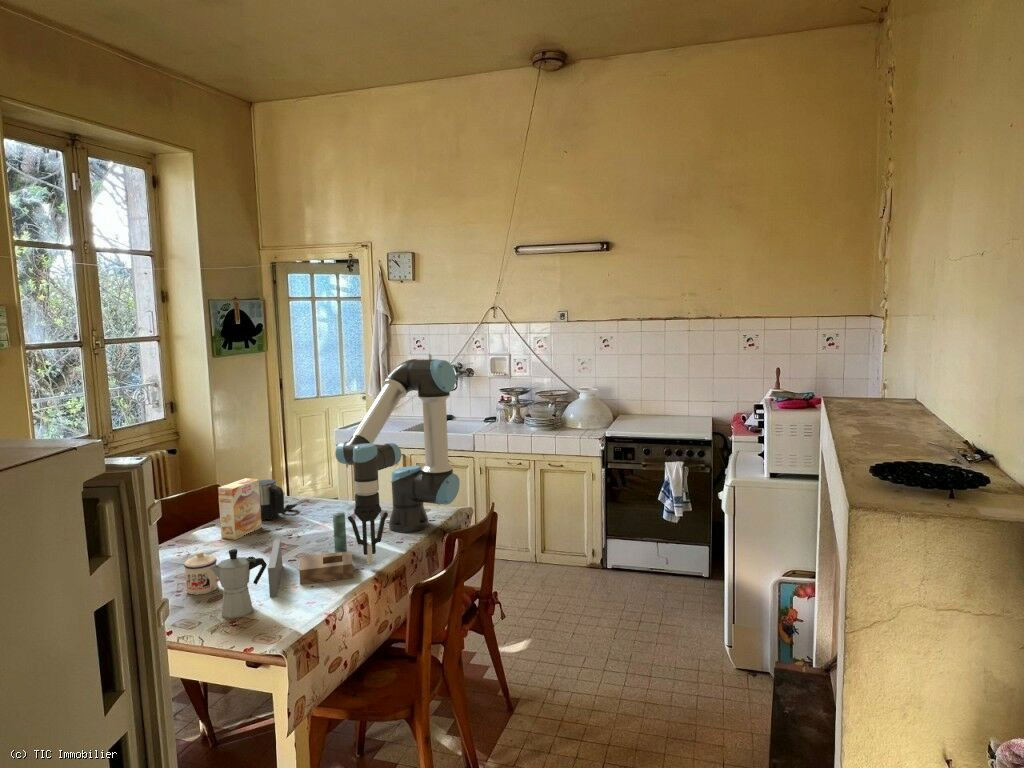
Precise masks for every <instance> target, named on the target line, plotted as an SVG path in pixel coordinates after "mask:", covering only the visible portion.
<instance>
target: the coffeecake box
mask: <svg viewBox="0 0 1024 768" xmlns="http://www.w3.org/2000/svg"><path fill="white" fill-rule="evenodd" d="M259 481H260V480H259V478H249V477H248V478H246V477H245V478H242V479H239V480H236V481H234V482H231V483H228V484H224V485H222V486H218V487H217V491H218V492H217V493H218V505H219V506H218V507H219V520H220V521H219V523H220V535H221V539H228V540H234V541H235V540H238V539H240V538H242V537H245V536H247V535H248V533H249V534H251V533H252V532H255V531H258V530H259V529H261V527H263V525H262V520H261V508H260V492H259ZM254 530H255V531H254ZM250 532H251V533H250ZM246 534H247V535H246ZM244 535H245V536H244Z"/></svg>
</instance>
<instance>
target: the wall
mask: <svg viewBox="0 0 1024 768" xmlns="http://www.w3.org/2000/svg"><path fill="white" fill-rule="evenodd" d="M269 557H270V558H269V562H268V565H267V572H268V573H267V576H268V577H267V578H268V588H269V590H268V591H269V598H270V599H271V598H278V594H279V587H280V582H281V575H282V570H283V556H282V541H281V539H280V538H279V539H274V540H273V545H272V548H271V553H270V556H269Z"/></svg>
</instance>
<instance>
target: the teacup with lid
mask: <svg viewBox="0 0 1024 768" xmlns="http://www.w3.org/2000/svg"><path fill="white" fill-rule="evenodd" d="M217 562H218V560H217V558H216V556H214V555H210V554H205V553H204V552H203V551H198V552H197V551H196V553H195V555H194V556H193V557H190V558H188V559H187V560H186V561H185V562H184V564H183V567H184V571H185V572H184V573H185V584H186V592H187V593H188V595H192V594H194V595H196V596H197V595H199V594H200V595H205V594H208V593H212V592H213V590H214V591H215V590H216V589H218V587H219V583H218V582H220V580H219V578H218V577H217V576H216V574H215V573H214V572H213V571H212V570H211V569H209V568H211V567H213V566H216V565H217ZM194 595H193V596H194Z"/></svg>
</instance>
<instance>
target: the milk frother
mask: <svg viewBox="0 0 1024 768" xmlns="http://www.w3.org/2000/svg"><path fill="white" fill-rule="evenodd" d="M276 482H277V480H276V479H260V480H259V492H260V508H261V521H266V520H265V519H268V520H272V518H273V519H275V517H276V518H278V517H279V516H280V514H282V513H285V512H286V511H287V512H289V510H290V511H291V510H292V509H293V508H296V507H297V506H298V504H297V503H294V504H291V503H290V504H289V503H288V504H286V505H285V498H284V497H285V496H284V494H285V493H284V490H283V489H282V488H281V486H278V485H276ZM278 515H279V516H278ZM277 516H278V517H277Z"/></svg>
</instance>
